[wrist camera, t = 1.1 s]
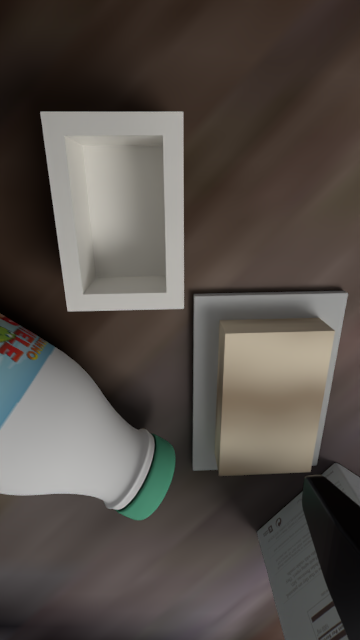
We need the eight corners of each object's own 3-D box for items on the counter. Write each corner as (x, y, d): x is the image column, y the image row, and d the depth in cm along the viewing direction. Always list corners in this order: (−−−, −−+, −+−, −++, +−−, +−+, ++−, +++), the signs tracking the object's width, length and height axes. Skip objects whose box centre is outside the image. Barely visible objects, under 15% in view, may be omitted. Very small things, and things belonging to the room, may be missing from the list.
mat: (313, 460, 25) (316, 465, 24) (192, 465, 24) (193, 470, 24) (343, 290, 20) (348, 293, 20) (193, 293, 20) (194, 296, 19)
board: (299, 449, 24) (310, 472, 22) (214, 453, 23) (218, 476, 22) (319, 317, 20) (335, 330, 18) (219, 320, 20) (225, 333, 18)
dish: (180, 285, 20) (184, 308, 16) (86, 287, 19) (67, 311, 16) (178, 129, 17) (183, 111, 13) (68, 129, 16) (40, 111, 13)
